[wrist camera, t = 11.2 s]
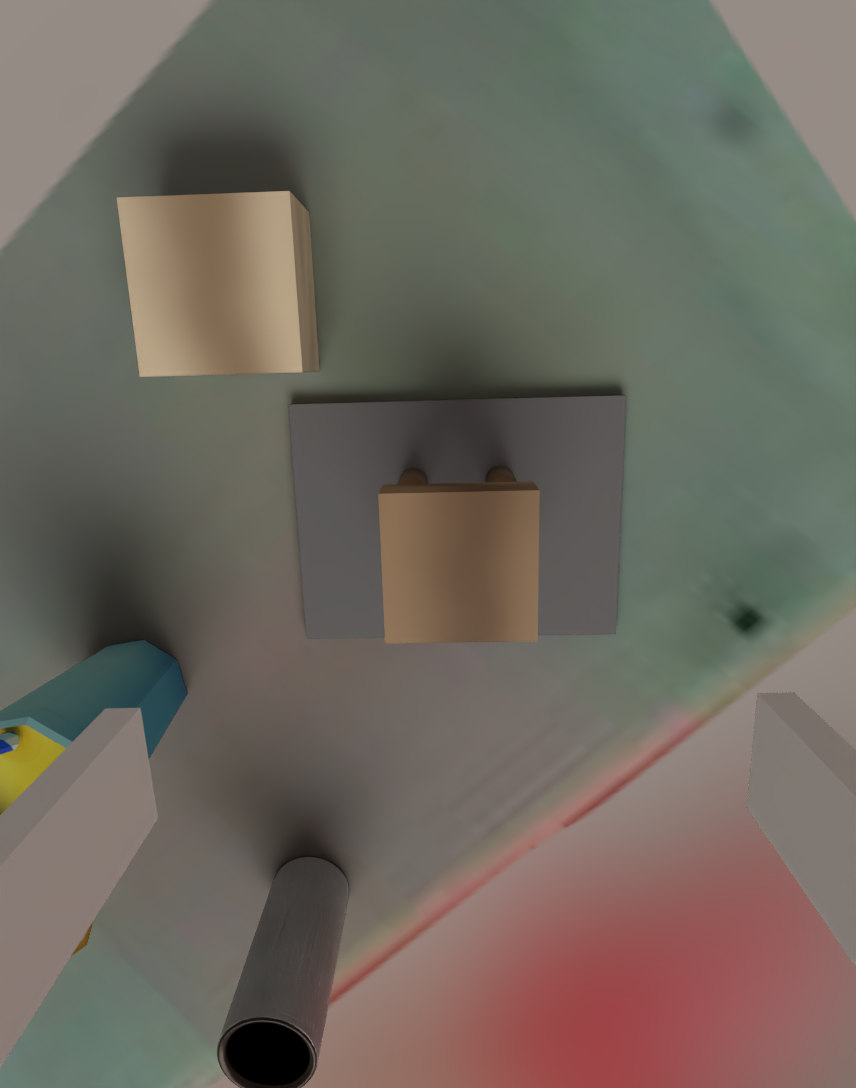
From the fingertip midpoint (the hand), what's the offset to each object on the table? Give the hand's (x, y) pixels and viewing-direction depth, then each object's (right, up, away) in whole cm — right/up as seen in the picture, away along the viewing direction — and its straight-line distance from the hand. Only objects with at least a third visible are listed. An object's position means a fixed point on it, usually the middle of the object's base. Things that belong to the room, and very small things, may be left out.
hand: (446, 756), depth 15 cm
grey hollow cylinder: (-7, -16, +26) cm, 31 cm away
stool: (+1, +6, +19) cm, 20 cm away
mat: (+1, +6, +20) cm, 21 cm away
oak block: (-9, +16, +18) cm, 26 cm away
